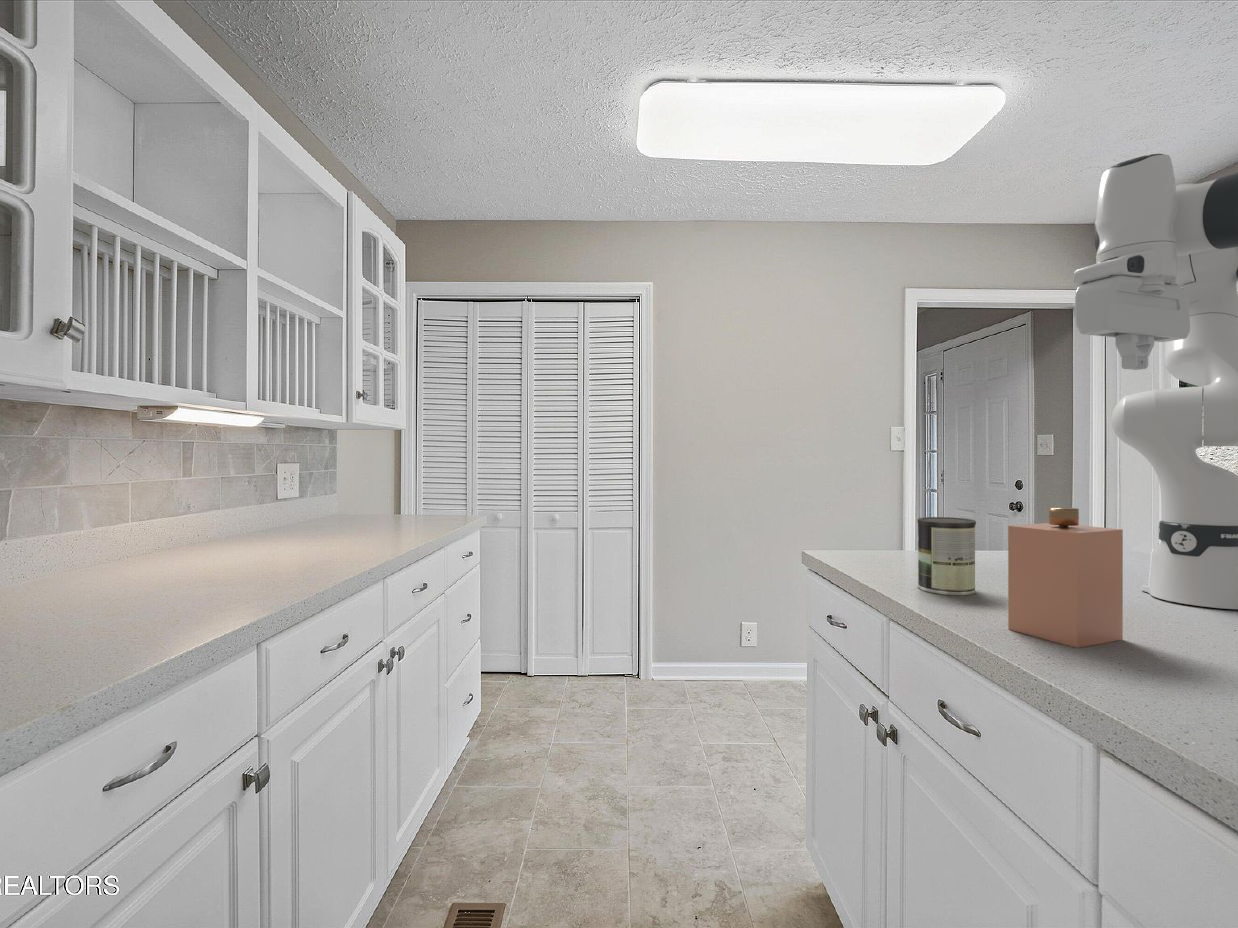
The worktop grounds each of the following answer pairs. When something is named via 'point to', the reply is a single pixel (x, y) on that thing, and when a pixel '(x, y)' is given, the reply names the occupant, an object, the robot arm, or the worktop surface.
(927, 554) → the coffee can
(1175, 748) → the worktop surface
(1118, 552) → the block
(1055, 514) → the plunger
